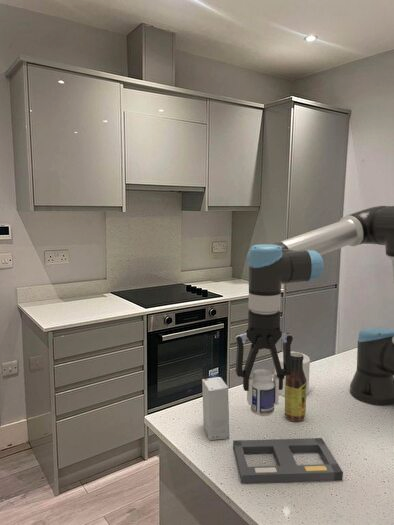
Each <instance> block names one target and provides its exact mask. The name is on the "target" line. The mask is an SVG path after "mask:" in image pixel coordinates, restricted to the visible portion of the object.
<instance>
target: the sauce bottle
mask: <svg viewBox="0 0 394 525" xmlns="http://www.w3.org/2000/svg"><path fill="white" fill-rule="evenodd" d="M293 352H294V353H291V375H289V376H288V375H286V383H285V396H284V416H285V418H286V419H287V420H289V421H292V422H301V421H303V420H305V417H306V413H307V412H306V409H307V408H306V407H307V406H306V404H307V402H306V401H307V395H306V382H307V380H306V377H305V374H304V371H303V354H304V353H302V352H298V351H293ZM297 352H298V353H297ZM301 353H302V354H301Z"/></svg>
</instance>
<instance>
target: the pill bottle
mask: <svg viewBox="0 0 394 525" xmlns="http://www.w3.org/2000/svg"><path fill="white" fill-rule="evenodd" d="M273 374H274V373H273V371H272V370H269V369H266V368H265V369H264V368H259V369H258V368H257V369H255V370H254V371H253V373H252V375H253V376H252V377H253V378H252V405H250V410H251V412H252V413H253V414H254V415H257V416H259V417H269V416H271V415H273V414H274V412H275V403H274V394H275V384H274V382H273Z"/></svg>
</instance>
